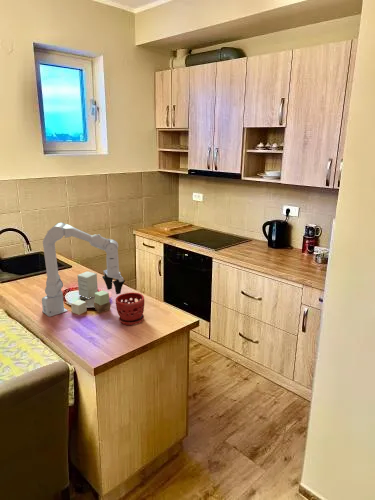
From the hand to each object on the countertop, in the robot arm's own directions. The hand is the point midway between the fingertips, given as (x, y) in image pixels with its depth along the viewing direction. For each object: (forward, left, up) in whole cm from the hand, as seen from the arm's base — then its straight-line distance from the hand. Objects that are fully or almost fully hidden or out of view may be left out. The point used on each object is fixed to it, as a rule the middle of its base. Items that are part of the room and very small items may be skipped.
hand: (113, 291), depth 178 cm
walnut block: (-4, +5, -10) cm, 12 cm away
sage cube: (-4, +5, -6) cm, 9 cm away
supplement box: (-1, +24, -10) cm, 26 cm away
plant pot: (-1, -15, -10) cm, 18 cm away
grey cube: (-14, +10, -10) cm, 20 cm away
